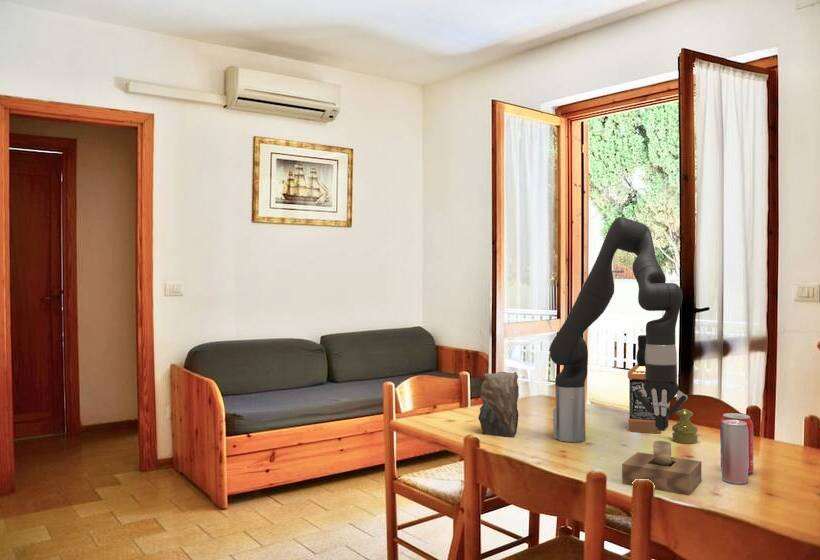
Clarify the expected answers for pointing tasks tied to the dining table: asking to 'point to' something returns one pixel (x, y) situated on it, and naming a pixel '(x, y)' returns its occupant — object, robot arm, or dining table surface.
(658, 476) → the walnut block
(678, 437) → the green tiered insulator
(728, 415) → the soda can
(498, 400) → the dark brown rock
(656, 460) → the peg
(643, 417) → the whiskey bottle
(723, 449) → the beverage can
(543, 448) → the dining table surface
